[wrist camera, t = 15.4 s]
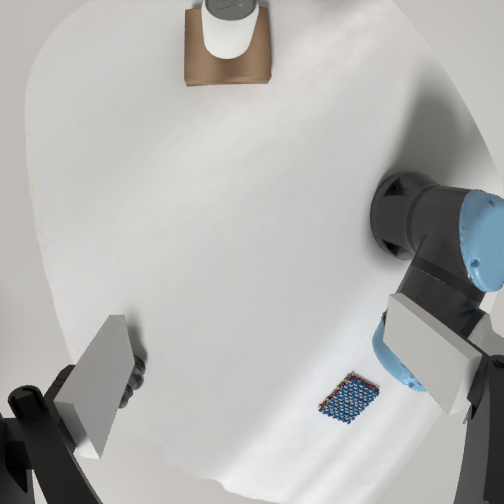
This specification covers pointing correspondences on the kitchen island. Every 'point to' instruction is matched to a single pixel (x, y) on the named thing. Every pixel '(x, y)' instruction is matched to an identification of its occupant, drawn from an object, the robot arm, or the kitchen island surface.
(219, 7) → the can
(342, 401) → the woven mat
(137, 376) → the salt shaker
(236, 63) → the walnut stand
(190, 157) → the kitchen island surface
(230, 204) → the kitchen island surface
